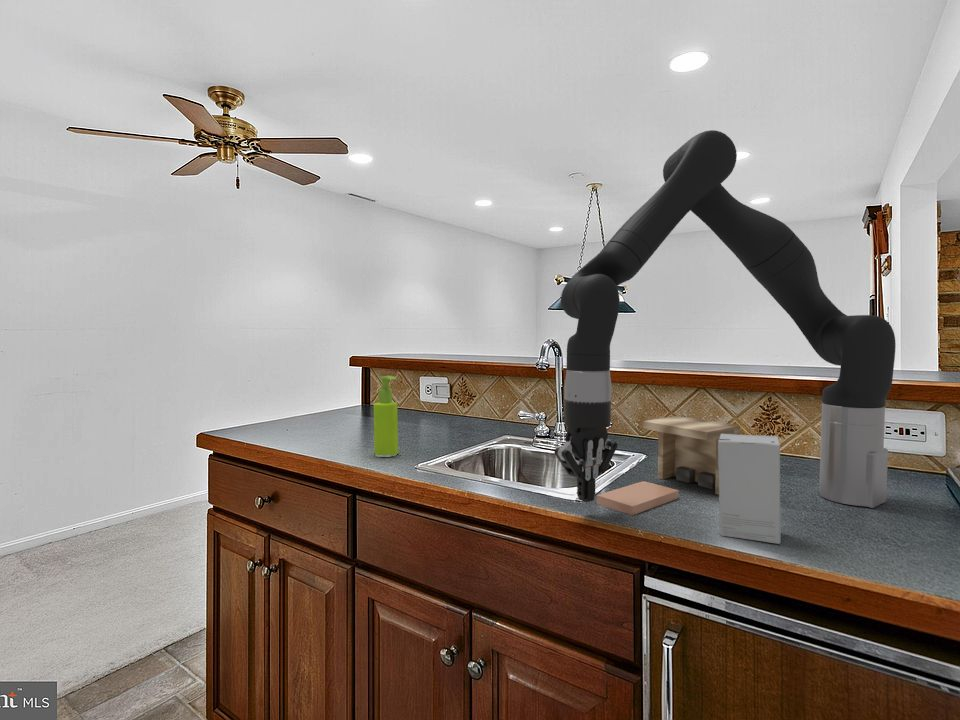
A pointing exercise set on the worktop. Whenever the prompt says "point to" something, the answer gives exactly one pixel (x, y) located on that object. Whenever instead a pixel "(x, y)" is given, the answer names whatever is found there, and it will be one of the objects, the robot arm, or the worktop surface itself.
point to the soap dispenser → (385, 420)
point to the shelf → (689, 448)
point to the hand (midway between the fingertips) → (586, 500)
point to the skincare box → (749, 487)
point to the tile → (637, 497)
